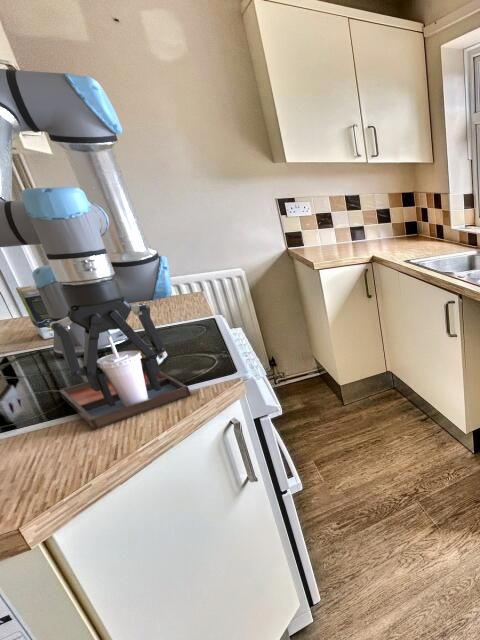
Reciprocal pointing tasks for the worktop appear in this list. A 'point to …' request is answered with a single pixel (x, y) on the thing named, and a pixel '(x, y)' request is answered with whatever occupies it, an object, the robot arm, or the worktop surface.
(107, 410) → the sorting tray
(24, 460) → the worktop surface
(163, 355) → the pastry
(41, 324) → the tea box
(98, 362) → the smoothie
